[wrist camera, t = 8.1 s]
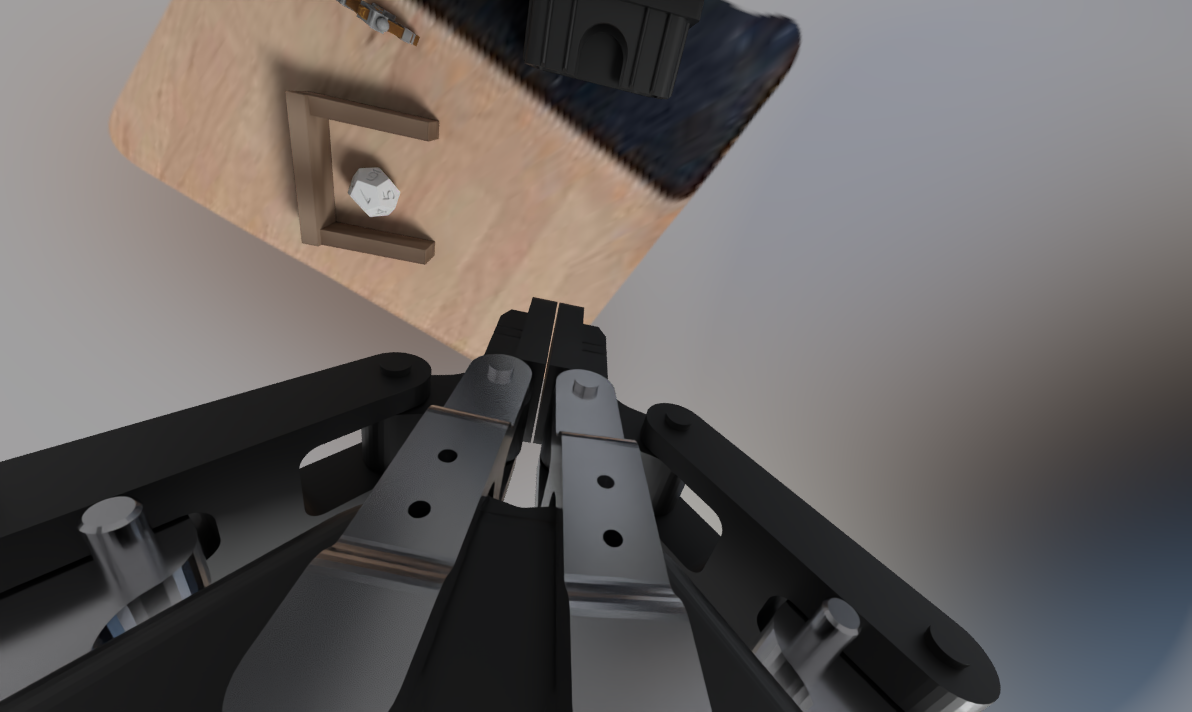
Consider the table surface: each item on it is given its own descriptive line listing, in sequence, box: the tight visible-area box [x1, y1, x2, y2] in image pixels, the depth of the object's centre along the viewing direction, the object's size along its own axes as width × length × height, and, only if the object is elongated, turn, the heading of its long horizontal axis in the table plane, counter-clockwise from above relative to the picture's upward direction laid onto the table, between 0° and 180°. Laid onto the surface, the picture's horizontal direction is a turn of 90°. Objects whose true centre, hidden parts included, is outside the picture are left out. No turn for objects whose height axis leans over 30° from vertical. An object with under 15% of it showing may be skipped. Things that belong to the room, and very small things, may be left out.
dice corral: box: [285, 91, 439, 265], centre depth 34 cm, size 10×9×3 cm
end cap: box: [523, 0, 704, 99], centre depth 28 cm, size 10×7×7 cm
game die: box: [348, 167, 400, 217], centre depth 35 cm, size 4×4×3 cm
